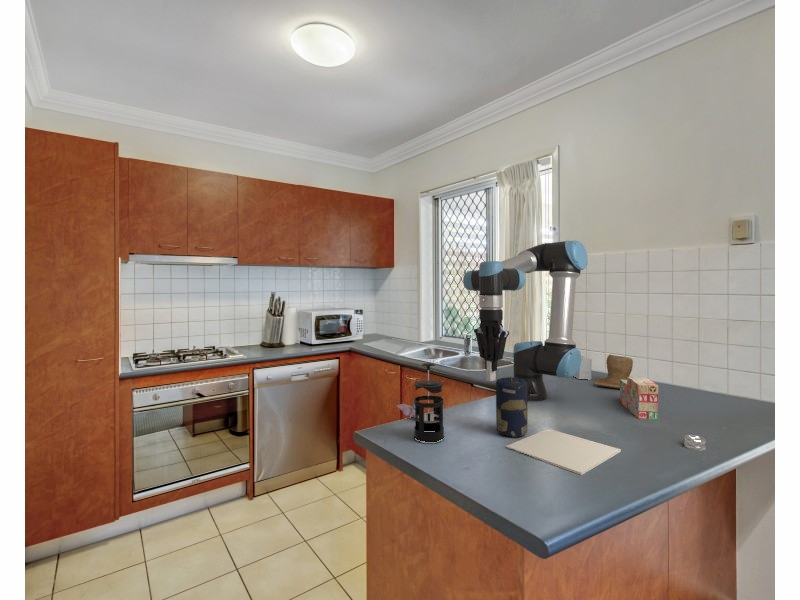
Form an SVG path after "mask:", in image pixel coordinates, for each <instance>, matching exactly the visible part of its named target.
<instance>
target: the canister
mask: <svg viewBox="0 0 800 600" xmlns="http://www.w3.org/2000/svg"><path fill="white" fill-rule="evenodd" d="M495 381H496V382H495V420H496V421H495V422H496V423H495V426H496V427H495V428H496V431H497V432H498V434H500V435H502V436H505V435H506V437H511V436H512V438H514V437H522V436H525V435H526V434H527V433H528V427H529V426H528V422H529V421H528V417H529V416H528V415H529V414H528V401H527V383H526V381H525V380H523V379H519V378H514V377H512V376H509V377H507V376H506V377H499V378H498V379H496V380H495Z"/></svg>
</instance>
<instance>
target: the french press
mask: <svg viewBox="0 0 800 600" xmlns="http://www.w3.org/2000/svg"><path fill="white" fill-rule="evenodd" d="M421 366H422V367H426V370H427V379H426V380H417V381H415V382H413V386H415V387H414V388H415V391H417V390H419V389H425V390H426V391H427V395H420V396H417V397H414V399H413V404H415V418H414V419H415V423H414V424H415V425H414V431H413V433H414V435H415V438H416V439H417V440H420V441H425V442H437V441H439V440H441V439H443V438H444V437H445V431H444V398H443V397H442V396H441V395H437V394H439V393H442V391H443V386H444V383H443V382H441V381H440V380H431V379H430V370H431V367H433V366H436V364H435V363H434V362H424V363H422V364H421ZM430 393H431V394H436V395H430ZM430 400H431V401H433V402H430ZM420 401H427V402H420ZM425 408H426V409H427V408H428V409H427V411H428V412H427V413H425ZM430 409H433V412H432V413H430ZM424 431H435V432H424Z"/></svg>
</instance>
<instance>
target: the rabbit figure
mask: <svg viewBox="0 0 800 600" xmlns="http://www.w3.org/2000/svg"><path fill="white" fill-rule="evenodd" d="M395 407H397V408H398V409H399V410H401V412H402V413H403V415H404V416H405V417H407V418H412V417H413V418H414V417H415V404H414V403H412V404H411V405H408V404H406V403H401V404H397V405H395Z"/></svg>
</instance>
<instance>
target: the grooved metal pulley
mask: <svg viewBox="0 0 800 600" xmlns="http://www.w3.org/2000/svg"><path fill="white" fill-rule="evenodd" d="M683 439H684V441H683V446H684V447H685V448H686V447H687V448H686V449H688V448H690V449H689V450H691V449H694V450H693V451H696V450H699V451H698V452H703V450H704V451H706V449H707V448H706V447H707V446H706V445H705V444H707V441H706V439H705V438H704V437H703V436H700V435H695V434H685V435H684V437H683Z"/></svg>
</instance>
